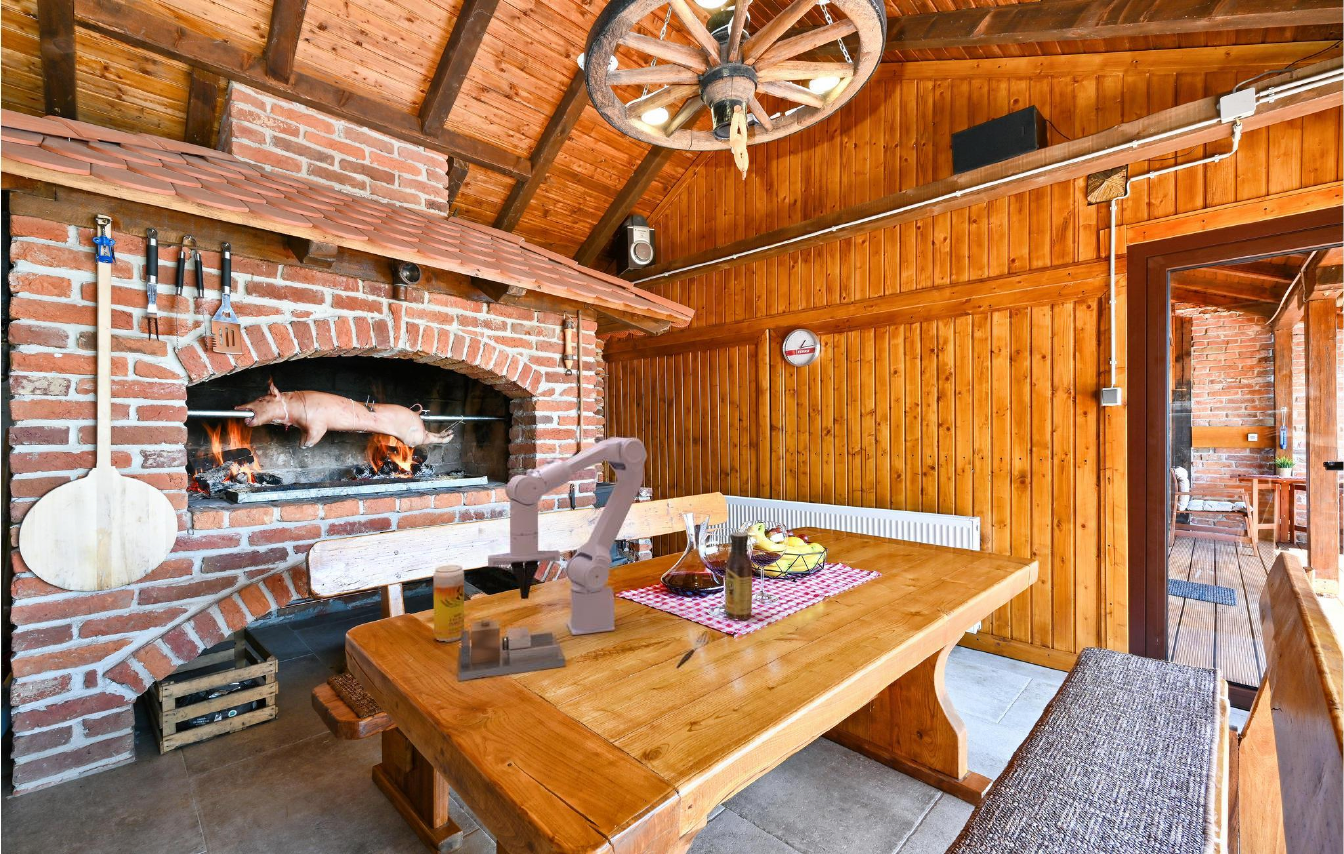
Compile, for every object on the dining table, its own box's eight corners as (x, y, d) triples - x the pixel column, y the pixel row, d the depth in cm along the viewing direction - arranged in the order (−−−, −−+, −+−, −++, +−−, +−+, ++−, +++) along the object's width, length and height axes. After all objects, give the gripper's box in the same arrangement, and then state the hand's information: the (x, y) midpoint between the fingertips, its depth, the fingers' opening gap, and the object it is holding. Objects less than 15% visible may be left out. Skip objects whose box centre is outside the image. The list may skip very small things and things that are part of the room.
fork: (670, 669, 112) (670, 658, 112) (698, 639, 127) (698, 630, 127) (683, 671, 111) (683, 660, 111) (710, 641, 126) (710, 632, 126)
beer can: (454, 644, 124) (453, 572, 124) (428, 641, 125) (427, 570, 125) (469, 633, 130) (469, 565, 130) (444, 631, 131) (444, 563, 131)
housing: (498, 649, 117) (498, 613, 117) (499, 659, 112) (499, 621, 112) (471, 653, 115) (471, 616, 115) (471, 663, 110) (471, 624, 110)
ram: (527, 643, 119) (527, 626, 119) (530, 655, 113) (530, 636, 113) (501, 646, 117) (501, 629, 117) (503, 658, 112) (503, 640, 112)
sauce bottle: (723, 613, 143) (723, 530, 143) (748, 612, 144) (748, 530, 143) (728, 622, 137) (727, 536, 136) (754, 621, 137) (754, 535, 137)
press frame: (555, 643, 124) (555, 617, 124) (564, 666, 113) (564, 637, 113) (458, 655, 118) (458, 628, 118) (458, 681, 106) (458, 650, 106)
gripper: (556, 527, 131) (556, 588, 131) (487, 531, 126) (487, 595, 126) (561, 533, 124) (561, 598, 124) (488, 537, 119) (488, 605, 119)
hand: (524, 597), depth 125 cm, fingers closed
